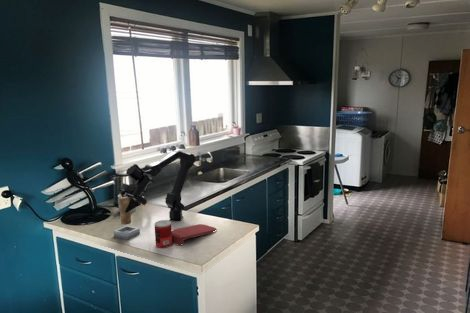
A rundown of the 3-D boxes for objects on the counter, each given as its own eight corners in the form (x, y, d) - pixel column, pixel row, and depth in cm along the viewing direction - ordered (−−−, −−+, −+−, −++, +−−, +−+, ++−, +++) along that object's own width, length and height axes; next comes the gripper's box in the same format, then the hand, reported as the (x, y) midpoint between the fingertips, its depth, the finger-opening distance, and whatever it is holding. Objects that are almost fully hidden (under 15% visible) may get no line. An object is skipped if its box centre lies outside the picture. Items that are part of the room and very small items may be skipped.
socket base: (127, 230, 195) (126, 225, 194) (139, 233, 190) (139, 228, 190) (114, 236, 187) (113, 230, 186) (126, 239, 182) (126, 234, 182)
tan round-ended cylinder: (132, 220, 190) (130, 196, 188) (130, 224, 185) (128, 199, 183) (122, 221, 190) (120, 197, 187) (120, 224, 185) (118, 199, 182)
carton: (200, 232, 201) (165, 240, 182) (201, 223, 201) (166, 230, 181) (217, 237, 194) (183, 246, 174) (218, 228, 194) (183, 236, 174)
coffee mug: (126, 214, 219) (125, 198, 218) (115, 211, 225) (114, 195, 223) (143, 208, 230) (142, 193, 228) (132, 205, 236) (131, 190, 234)
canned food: (175, 242, 179) (174, 220, 177) (167, 249, 172) (165, 226, 170) (161, 240, 182) (160, 219, 180) (152, 247, 174) (151, 224, 172)
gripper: (120, 174, 192) (102, 199, 187) (140, 179, 179) (121, 207, 174) (135, 185, 199) (117, 210, 194) (154, 192, 186) (136, 218, 181)
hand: (122, 211), depth 185 cm, fingers closed on tan round-ended cylinder, 5 cm apart
